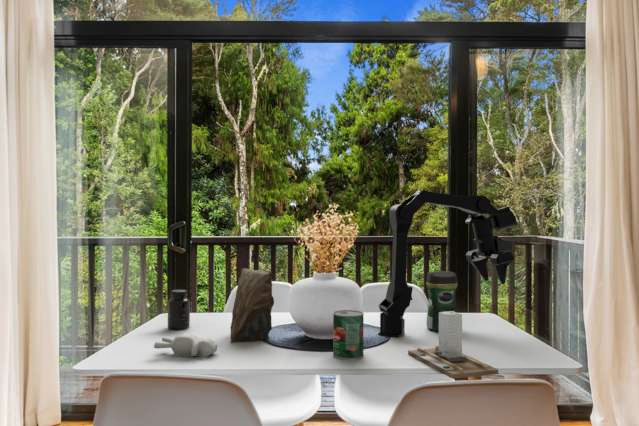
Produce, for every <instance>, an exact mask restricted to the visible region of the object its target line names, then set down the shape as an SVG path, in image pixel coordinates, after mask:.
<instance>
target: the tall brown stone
mask: <svg viewBox="0 0 639 426" xmlns="http://www.w3.org/2000/svg"><path fill="white" fill-rule="evenodd" d="M240 273H241V274H240V276H239V278H238V283H237V289H236V293H235V298H234V302H233V306H232V307H233V308H232V311H231V312H232V313H231V315H232V316H231V317H232V319H231V323H230V343H231V344H233V343H234V344H236V343H249V342H250V343H251V342H265V340H266V341H269V340H268V339H269V338H270V332H271V331H272V329H273V328H272V310H273V306H274V305H275V299H274V296H273V292H272V291H273V280H272V278H273V272H272V271H268V270H267V269H261V270H259V269H255V270H253V269H251V268H246V267H243V268H241V270H240Z"/></svg>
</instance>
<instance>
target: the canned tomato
mask: <svg viewBox="0 0 639 426" xmlns="http://www.w3.org/2000/svg"><path fill="white" fill-rule="evenodd" d="M332 315H333V317H332V318H333V319H332V321H333V323H332V324H333V326H332V327H333V329H332V330H333V331H332V332H333V335H332V336H333V337H332V341H333V343H332V345H333V346H332V347H333V348H332V349H333V350H332V351H333V353H332V355H333V357H335V358H337V359H338V360H339V359H340V360H345V361H346V360H348V361H349V360H359V359H362V358H363V357H364V315H365V314H364V312H362V311H360V310H351V309H342V310H341V309H340V310H336V311H333V312H332Z"/></svg>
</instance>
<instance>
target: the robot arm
mask: <svg viewBox="0 0 639 426" xmlns="http://www.w3.org/2000/svg"><path fill="white" fill-rule="evenodd" d="M425 204H429V205H436V206H440V207H450V208H455V209H458V210H461V211H462V212H465V213H469V214H471V215H468V217H467V219H465V221H464V223H465V224H472V229H473V233H474V239H472V241H473V243H475V244H476V247H477V248H476V249H473V250H469V251H467V252H466V254H465V257H466V261H469V263H470V264H471V266H472V267H474V269H475V270H476V272H478V273H479V275H480V276H481V278H482V279H483V280H484V282H489V272H488V262H489V261H490V262H491V263H492V264H490V265H491V267H492V269H493V271H494V273H495V275H496V277H497V279H498V281H499V283H501V285H504V284H506V281H507V280H506V279H507V271H508V267H509V265H510V264H511V263H513V262H514V260H515V259H516V256H515V253H514V252H513V251H514V241H513V240H504V239H503V238H502V237H499V236H498V235H495V233H494V230H495V231H496V232H497V231H503V230H506V229H510V228H514V227H515V226H516V225H517V217H516V216H515V214H514V212H513V211H512V210H511V208H510V206H508V205H507V206H503V207H501V208H498V209H497V207H495V206H494V205H493V204H492V203H491V202H490V199H489V198H488V197H487V196H486V195H484V194H482V195H479V194H478V195H458V194H450V193H443V192H436V191H431V190H430V191H428V190H426V189H420V190H416V191H415V192H414V193H413V194H412V195H411V196H408V198H406V199H405V200H403V201H402V202H400V203H399V204H398V203H397V204H394V205H392V206H391V207H390V209H389V212H388V215H389V222H390V227H391V230H392V253H391V257H392V258H391V277H390V281H389V283H388V286H387V288H386V289H387V290H386V293H385V294H386V295H385V298H384V299H383V300H382V301H381V302H380V303H379V304H378V308H379V310H380V312H381V313H380V314H379V315H380V316H379V317H380V318H379V319H380V320H379V323H380V324H379V326H380V327H379V328H380V329H379V332H378V333H377V334H378V335H379V336H385V337H386V336H388V337H396V338H398V337H399V338H400V337H401V336H403V334H405V328H406V327H405V320H406V319H404V314H405V311H406V309H408V308H409V307H410V304H411V301H413V298H412V295H413V286H411V285H408V282H407V269H408V268H407V267H408V266H407V264H408V263H407V262H408V241H409V240H408V239H409V237H408V236H409V233H410V229H411V228H412V224H413V220H414V214H416V213H417V212H418V211H419V210H420V209H421V208H422V207H423V206H424V205H425ZM472 214H473V215H472ZM474 214H475V215H474ZM476 214H477V215H476ZM478 214H479V215H478ZM485 215H488V216H485Z"/></svg>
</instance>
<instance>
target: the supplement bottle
mask: <svg viewBox="0 0 639 426" xmlns="http://www.w3.org/2000/svg"><path fill="white" fill-rule="evenodd" d="M187 296H188V291H187V290H186V289H173V290H171V294H170V297H171V298H170V299H169V300H168V301H167V329H168V330H171V331H182V330H187V329H189V328H190V321H191V318H190V317H191V316H190V314H191V302H190V299H188V298H187Z"/></svg>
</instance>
